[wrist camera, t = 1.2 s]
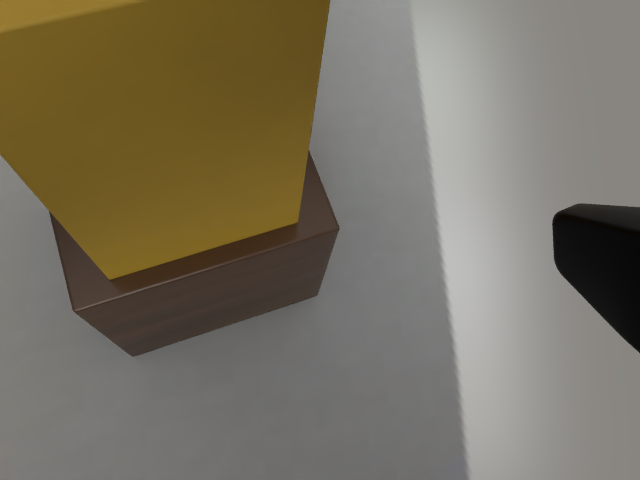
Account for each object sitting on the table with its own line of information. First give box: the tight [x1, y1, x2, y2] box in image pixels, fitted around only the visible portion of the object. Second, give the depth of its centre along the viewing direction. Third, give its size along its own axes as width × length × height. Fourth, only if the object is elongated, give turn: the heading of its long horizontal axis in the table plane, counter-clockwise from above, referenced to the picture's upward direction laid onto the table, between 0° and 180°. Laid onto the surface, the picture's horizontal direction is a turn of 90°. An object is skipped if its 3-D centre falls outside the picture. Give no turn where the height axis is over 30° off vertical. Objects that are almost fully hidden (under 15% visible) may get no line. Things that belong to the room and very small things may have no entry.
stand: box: [49, 150, 339, 356], centre depth 20 cm, size 7×7×7 cm
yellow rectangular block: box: [0, 0, 330, 280], centre depth 12 cm, size 5×6×9 cm
